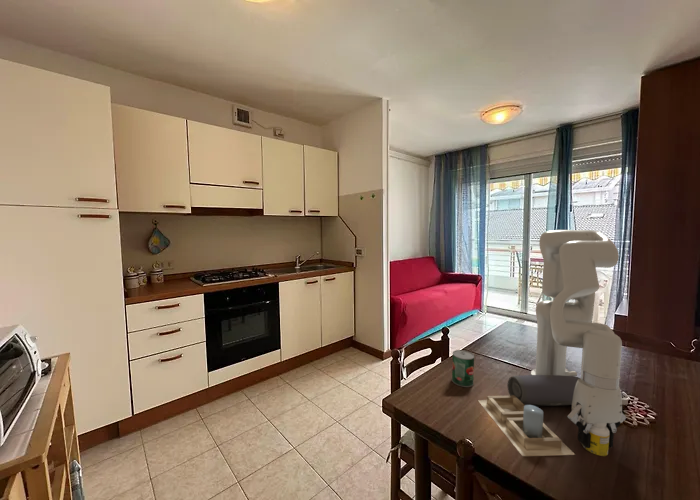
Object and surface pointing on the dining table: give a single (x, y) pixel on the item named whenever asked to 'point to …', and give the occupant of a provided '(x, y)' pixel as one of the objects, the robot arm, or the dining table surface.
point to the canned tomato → (463, 368)
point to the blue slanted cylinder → (532, 421)
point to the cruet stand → (511, 423)
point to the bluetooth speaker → (543, 389)
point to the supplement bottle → (598, 439)
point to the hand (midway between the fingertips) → (594, 443)
